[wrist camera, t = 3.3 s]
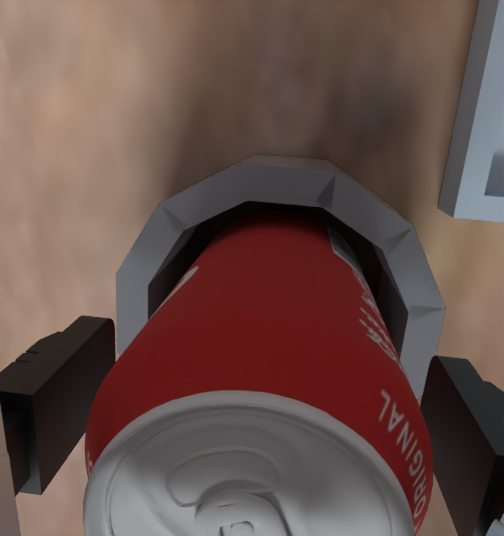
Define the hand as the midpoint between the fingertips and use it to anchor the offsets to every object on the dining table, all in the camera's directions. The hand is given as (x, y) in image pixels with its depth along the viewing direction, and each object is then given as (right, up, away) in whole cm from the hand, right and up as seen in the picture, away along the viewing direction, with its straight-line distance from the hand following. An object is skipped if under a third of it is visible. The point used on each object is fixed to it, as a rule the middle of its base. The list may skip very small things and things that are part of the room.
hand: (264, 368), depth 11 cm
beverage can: (+1, +2, +7) cm, 7 cm away
